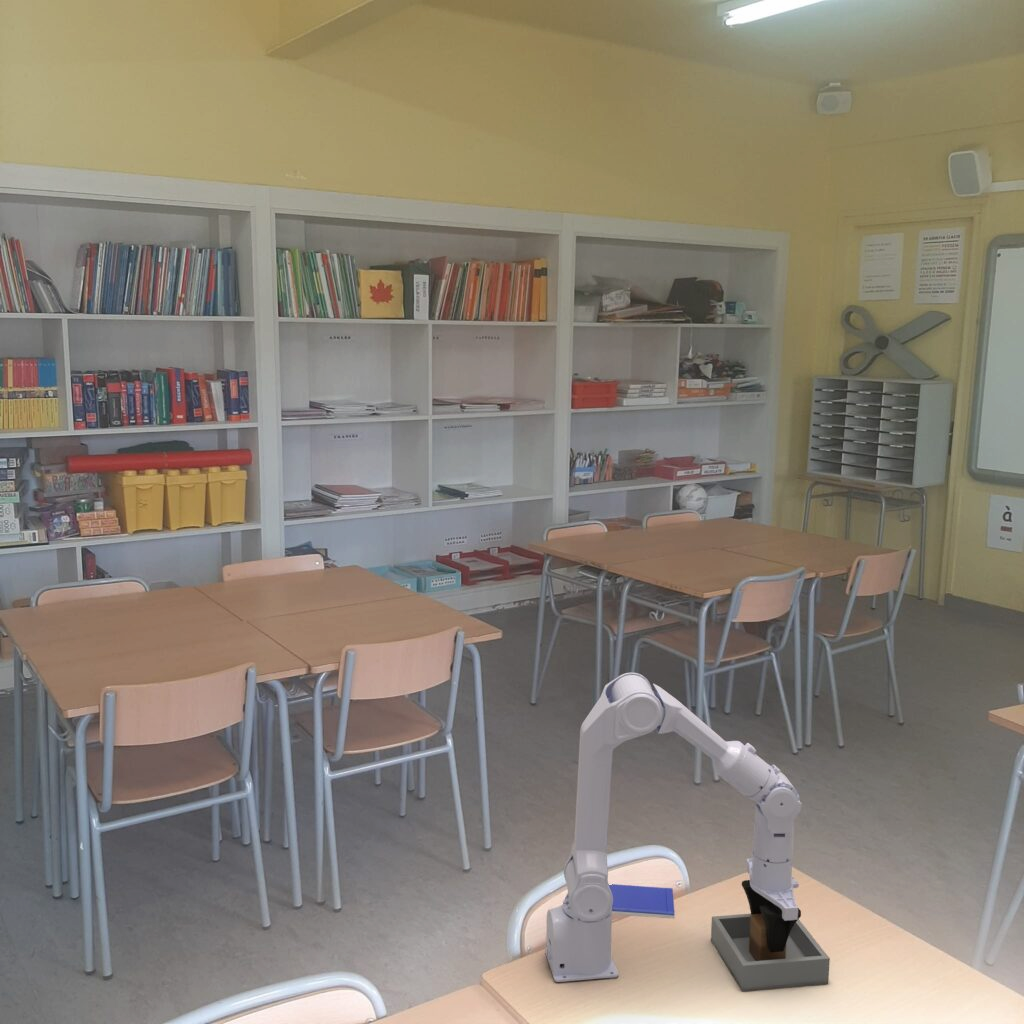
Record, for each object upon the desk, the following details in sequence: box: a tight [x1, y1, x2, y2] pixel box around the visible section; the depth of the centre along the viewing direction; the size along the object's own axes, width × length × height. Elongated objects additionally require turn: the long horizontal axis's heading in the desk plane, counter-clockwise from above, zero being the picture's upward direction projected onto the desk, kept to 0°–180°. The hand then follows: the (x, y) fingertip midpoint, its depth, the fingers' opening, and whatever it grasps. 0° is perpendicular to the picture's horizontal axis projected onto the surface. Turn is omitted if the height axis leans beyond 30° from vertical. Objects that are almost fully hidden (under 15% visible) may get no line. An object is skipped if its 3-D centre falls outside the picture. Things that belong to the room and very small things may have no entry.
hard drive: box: [609, 883, 675, 919], centre depth 168 cm, size 2×8×12 cm
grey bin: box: [710, 913, 831, 993], centre depth 151 cm, size 13×13×4 cm
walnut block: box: [749, 913, 786, 961], centre depth 151 cm, size 4×4×6 cm
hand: (768, 939), depth 151 cm, fingers open, 5 cm apart
